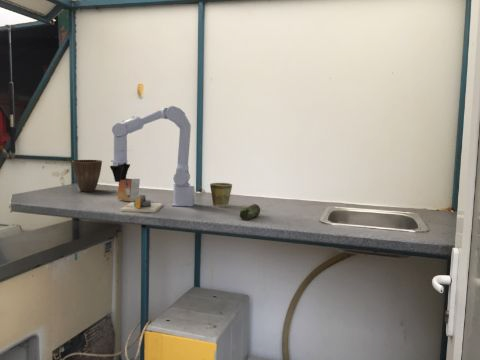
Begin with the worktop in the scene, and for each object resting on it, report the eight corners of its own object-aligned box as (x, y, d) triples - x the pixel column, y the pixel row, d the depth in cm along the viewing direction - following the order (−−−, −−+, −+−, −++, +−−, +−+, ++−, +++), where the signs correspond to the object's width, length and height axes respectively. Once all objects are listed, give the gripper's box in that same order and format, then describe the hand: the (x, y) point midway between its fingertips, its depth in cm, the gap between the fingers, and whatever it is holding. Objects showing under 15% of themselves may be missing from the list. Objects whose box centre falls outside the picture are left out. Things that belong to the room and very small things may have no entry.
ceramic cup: (228, 208, 180) (229, 186, 178) (207, 206, 181) (207, 184, 180) (234, 203, 192) (235, 182, 191) (214, 202, 194) (215, 181, 193)
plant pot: (91, 193, 207) (91, 162, 205) (66, 191, 210) (65, 160, 208) (107, 189, 221) (107, 160, 219) (83, 188, 225) (83, 159, 223)
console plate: (162, 205, 181) (162, 202, 181) (154, 212, 165) (154, 209, 165) (131, 204, 181) (131, 201, 181) (120, 211, 165) (120, 208, 165)
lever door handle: (136, 203, 176) (136, 194, 176) (152, 204, 176) (152, 194, 176) (129, 208, 165) (129, 198, 164) (146, 209, 165) (146, 198, 164)
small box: (117, 199, 189) (118, 177, 189) (125, 199, 194) (127, 177, 194) (130, 201, 185) (131, 178, 185) (138, 200, 190) (140, 178, 190)
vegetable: (249, 221, 155) (250, 209, 154) (237, 220, 157) (237, 207, 156) (262, 215, 167) (263, 203, 167) (251, 214, 169) (251, 202, 169)
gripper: (116, 149, 188) (116, 178, 190) (105, 151, 174) (105, 182, 175) (131, 150, 188) (131, 179, 190) (122, 151, 174) (122, 183, 175)
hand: (120, 180), depth 183 cm, fingers open, 7 cm apart
